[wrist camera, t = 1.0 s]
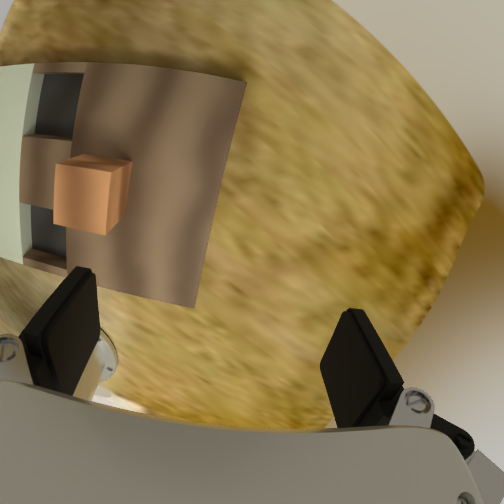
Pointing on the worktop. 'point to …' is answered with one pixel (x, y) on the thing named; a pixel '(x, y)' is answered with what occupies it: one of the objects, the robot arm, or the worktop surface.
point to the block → (91, 192)
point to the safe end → (15, 155)
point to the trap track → (132, 171)
